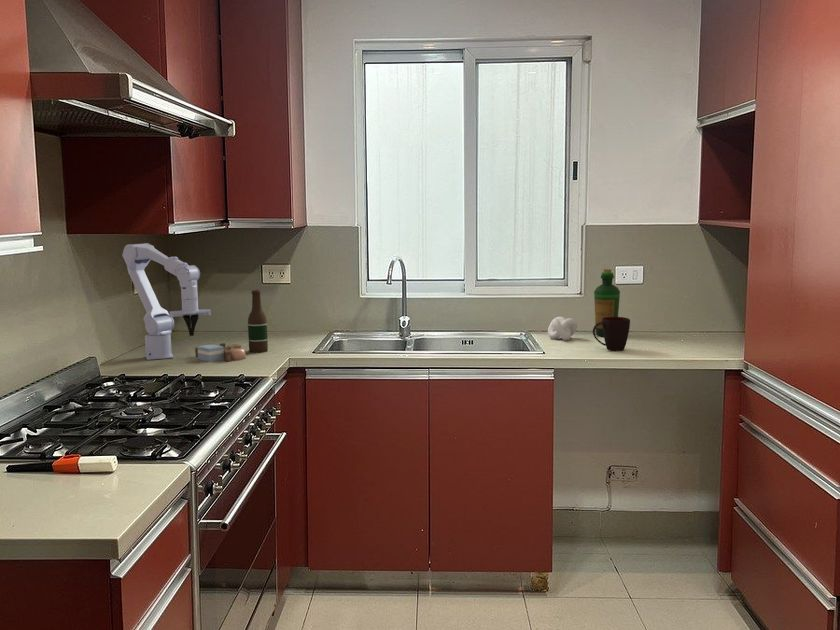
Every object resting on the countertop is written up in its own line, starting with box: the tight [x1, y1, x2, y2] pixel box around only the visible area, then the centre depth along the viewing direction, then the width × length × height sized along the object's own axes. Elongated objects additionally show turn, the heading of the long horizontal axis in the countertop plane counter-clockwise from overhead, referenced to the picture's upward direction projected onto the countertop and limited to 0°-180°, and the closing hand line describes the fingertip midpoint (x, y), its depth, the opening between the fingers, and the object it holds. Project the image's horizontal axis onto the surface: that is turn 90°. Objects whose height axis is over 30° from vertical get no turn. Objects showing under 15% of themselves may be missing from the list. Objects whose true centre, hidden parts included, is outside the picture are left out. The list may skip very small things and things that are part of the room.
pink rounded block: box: [229, 347, 246, 361], centre depth 300 cm, size 6×6×4 cm
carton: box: [197, 343, 225, 363], centre depth 300 cm, size 6×8×5 cm
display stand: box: [194, 342, 232, 363], centre depth 300 cm, size 11×16×4 cm
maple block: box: [226, 343, 242, 350], centre depth 307 cm, size 4×4×4 cm
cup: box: [592, 316, 631, 352], centre depth 307 cm, size 10×14×12 cm
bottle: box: [593, 268, 621, 338], centre depth 337 cm, size 11×11×28 cm
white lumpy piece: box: [547, 316, 578, 342], centre depth 333 cm, size 11×12×9 cm
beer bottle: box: [247, 289, 269, 354], centre depth 314 cm, size 8×8×24 cm
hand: (191, 335), depth 297 cm, fingers closed
